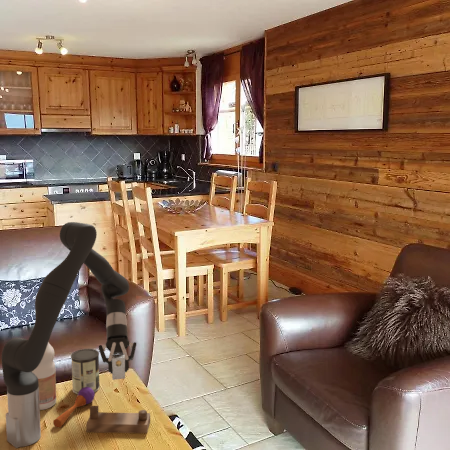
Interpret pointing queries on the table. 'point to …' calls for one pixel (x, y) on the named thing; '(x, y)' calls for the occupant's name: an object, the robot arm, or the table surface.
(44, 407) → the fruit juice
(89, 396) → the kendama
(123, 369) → the lever cap
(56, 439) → the table surface
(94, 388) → the coffee can
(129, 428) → the plane body
